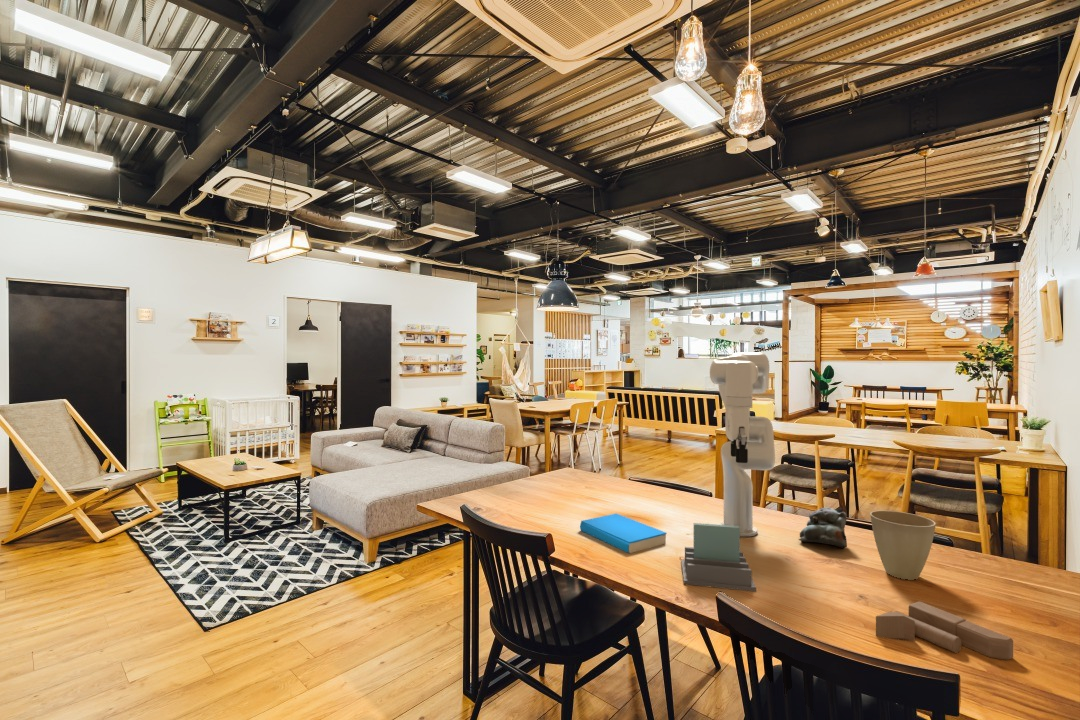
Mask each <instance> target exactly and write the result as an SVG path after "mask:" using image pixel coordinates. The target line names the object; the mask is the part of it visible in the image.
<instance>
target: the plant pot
mask: <svg viewBox="0 0 1080 720" xmlns="http://www.w3.org/2000/svg"><path fill="white" fill-rule="evenodd" d="M869 515H870V521H871V526H872V527H871V528H872V532H873V533H872V534H873V536H874V541H875V544H876V548H877V552H878V555H879V557H880V560H881V563H882V566H883V568H884V571H885V573H886V572H887V574H888V575H889V574H890V576H891V575H892V576H891V577H893V576H894V578H896V577H897V579H900V578H901V579H900V580H905V579H908V580H907V581H915V580H914V579H916V580H918V579H920V578H919V577H920V575H921V573H922V572H923V570H924V568H925V566H926V562H927V560H928V558H929V555H930V551H931V550H932V549H931V548H932V544H933V540H934V537H935V536H934V535H935V531H936V524H937V522H935V521H934V520H932V519H930V518H927V517H926V516H922V515H919V514H913V513H909V512H908V513H907V512H903V511H896V510H894V511H893V510H874V511H871V512H869Z"/></svg>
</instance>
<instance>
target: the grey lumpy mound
mask: <svg viewBox="0 0 1080 720" xmlns="http://www.w3.org/2000/svg"><path fill="white" fill-rule="evenodd" d="M847 516H848V515H847V513H846V512H845V511H844V510H843V508H842V507H838V508H836V509H835V508H832V507H820V508H819V509H817V510H814V511H813V512H811V513H809V515H808V517H809V519H808V521H806V526H805V527H804V528H802V529H801V531H800V532H799V538H798V541H800V542H801V543H805V542H809V543H810V542H811V543H818V544H823V545H824V544H825V545H830V546H835V547H839V548H842V549H845V548H847V547H848V540H847V536H846V533H845V529H846V523H847Z"/></svg>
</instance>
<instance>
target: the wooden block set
mask: <svg viewBox="0 0 1080 720" xmlns="http://www.w3.org/2000/svg"><path fill="white" fill-rule="evenodd" d="M876 636H877V637H878V638H883V637H884V639H890V640H891V639H892V640H898V639H899V641H905V640H907V642H915V641H916V637H915V636H917V638H920V639H923V640H925V641H927V642H930V643H932V644H934V645H935V646H936V645H937V646H939V647H940V648H942V649H945V650H948V651H949V652H951V653H955V654H957V653H959V652H960V651H961V648H962V647H965V648H967V649H969V650H972V651H973V652H977V653H979V654H981V655H983V656H986V657H988V658H992V659H996V660H1003V661H1004V660H1005V661H1009V660H1012V659H1013V658H1014V640H1013V638H1012V637H1010V636H1008V635H1005V634H1002V633H999V632H997V631H994V630H991V629H989V628H986V627H984V626H982V625H979V624H976V623H974V622H971V621H968V620H967V619H966V618H963V617H961V616H960V615H959V616H958V615H955V614H953V613H951V612H948V611H946V610H943V609H940V608H938V607H936V606H933V605H930V604H928V603H926V602H925V603H924V602H923V601H916V602H914V603H910V604H908V615H907V614H904V613H902V612H899V611H892V610H890V611H887V612H885V613H880V614H877V615H875V637H876Z"/></svg>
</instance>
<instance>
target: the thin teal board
mask: <svg viewBox="0 0 1080 720" xmlns="http://www.w3.org/2000/svg"><path fill="white" fill-rule="evenodd" d="M692 527H693V528H692V529H693V540H692V542H693V558H698V559H709V560H721V561H732V562H740V550H741V549H740V546H741V545H740V544H741V543H740V541H741V540H740V539H741V538H740V537H741V536H740V528H739V526H730V525H720V524H712V523H703V522H702V523H701V522H699V523H698V522H693V526H692Z"/></svg>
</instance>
